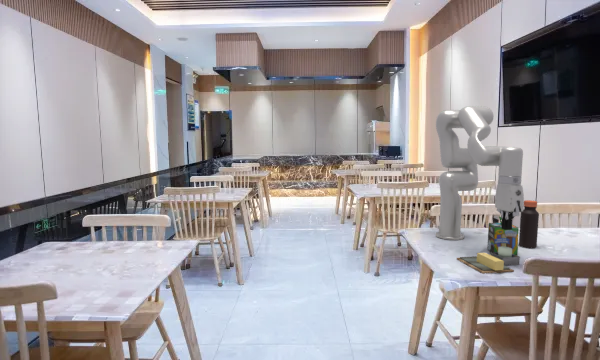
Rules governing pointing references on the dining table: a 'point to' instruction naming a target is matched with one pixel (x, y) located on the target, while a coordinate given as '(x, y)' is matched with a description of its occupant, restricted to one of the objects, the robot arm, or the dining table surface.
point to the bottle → (529, 225)
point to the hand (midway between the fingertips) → (506, 229)
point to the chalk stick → (490, 261)
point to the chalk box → (502, 237)
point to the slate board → (481, 265)
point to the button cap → (505, 251)
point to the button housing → (507, 259)
